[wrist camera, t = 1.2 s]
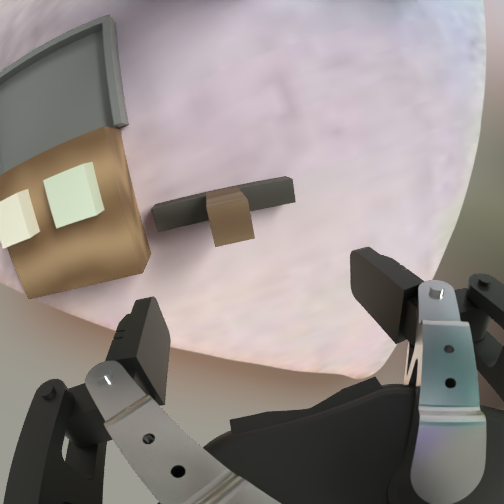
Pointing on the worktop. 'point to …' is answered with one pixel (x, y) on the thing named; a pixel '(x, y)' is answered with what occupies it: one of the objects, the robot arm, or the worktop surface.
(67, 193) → the tile
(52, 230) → the board
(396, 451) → the robot arm
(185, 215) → the scraper
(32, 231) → the tile
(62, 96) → the bin
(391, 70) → the worktop surface
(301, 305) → the worktop surface
